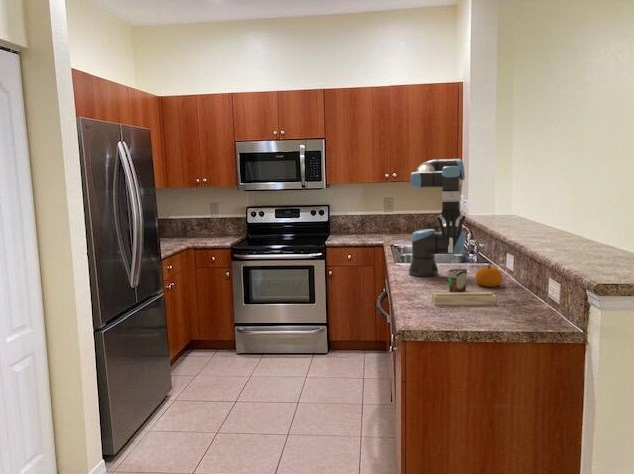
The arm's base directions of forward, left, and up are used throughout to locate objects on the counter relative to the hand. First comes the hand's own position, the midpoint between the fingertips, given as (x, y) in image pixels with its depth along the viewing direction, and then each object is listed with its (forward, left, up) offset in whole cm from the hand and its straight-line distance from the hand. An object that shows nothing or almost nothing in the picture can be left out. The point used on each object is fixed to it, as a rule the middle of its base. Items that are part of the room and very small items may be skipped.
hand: (450, 252), depth 219 cm
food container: (+10, 0, -17) cm, 19 cm away
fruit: (-3, +18, -17) cm, 25 cm away
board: (+27, 0, -16) cm, 31 cm away
